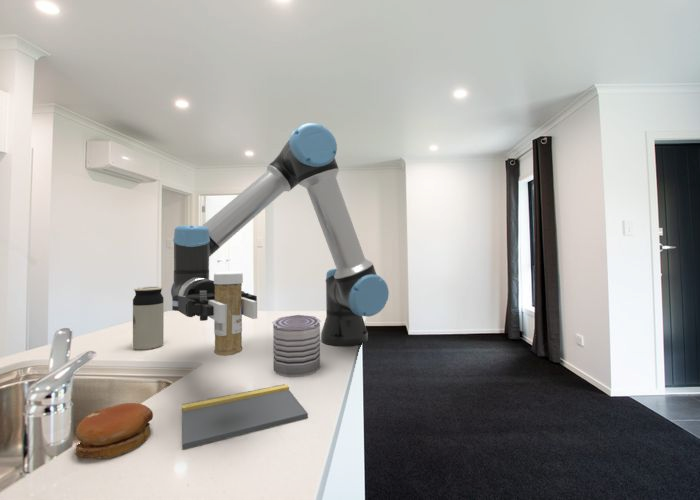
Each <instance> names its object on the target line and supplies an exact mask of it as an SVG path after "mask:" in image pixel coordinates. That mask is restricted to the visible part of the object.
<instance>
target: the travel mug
mask: <svg viewBox="0 0 700 500" xmlns="http://www.w3.org/2000/svg"><path fill="white" fill-rule="evenodd" d="M162 290H163V286H142V287H134V289H133V291H134V293H135V295H134V297H133V299H132V349H134V350H136V351H146V349H148V350H153V349H152V348H154V349H157V347H158V348H160V347H161V346H163V345H164V340H165V339H164V330H165V329H164V324H165V323H164V322H165V321H164V320H165V319H164V315H165V313H164V296H163V294H162Z"/></svg>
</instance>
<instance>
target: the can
mask: <svg viewBox="0 0 700 500" xmlns="http://www.w3.org/2000/svg"><path fill="white" fill-rule="evenodd" d="M321 322H322V320H321V319H319V318H317V317H316V316H314V315H304V314H303V315H302V314H296V315H288V316H282V317H279V318H277V319H275V320H274V321H272V322H271V323H272V325H273V326H272V328H273V329H272V330H273V337H272V338H273V344H272V345H273V371H274V372H275V374H276V375H278V376H282V377H285V378H296V377H297V378H299V377H307V376H309V375H313V374H316V373H317V372H318V371H319V369H320V368H321V341H320V340H321V332H320V331H321Z"/></svg>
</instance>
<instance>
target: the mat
mask: <svg viewBox="0 0 700 500" xmlns="http://www.w3.org/2000/svg"><path fill="white" fill-rule="evenodd" d="M308 415H309V412H308V411H306V410H305V408H304V407H303V405H302V404H301V403H300V402H299V400H298V399H297V398H296V397H295V396H294V394H293V393H292V392H291V391H290V386H289V385H288V384H287V383H286V384H285V383H283V384H279V385H273V386H268V387H262V388H258V389H253V390H247V391H244V392H238V393H232V394H228V395H223V396H218V397H213V398H208V399H203V400H197V401H192V402H187V403H182V404H181V428H182V429H181V431H182V432H181V433H182V434H181V436H182V438H181V439H182V441H181V443H182V444H181V445H182V450H186V449H187V450H188V449H191V448H193V447H194V448H195V447H199V446H202V445H206V444H207V445H208V444H211V443H215V442H218V441H223V440H226V439H230V438H233V437H239V436H241V435H246V434H250V433H253V432H258V431H261V430H267V429H270V428H272V427H276V426H282V425H284V424H285V425H286V424H289V423H294V422H297V421H301V420H305V419H309V418H308V417H309V416H308Z"/></svg>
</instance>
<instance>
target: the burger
mask: <svg viewBox="0 0 700 500" xmlns="http://www.w3.org/2000/svg"><path fill="white" fill-rule="evenodd" d="M153 418H154V413H153V411H152V409H151V408H150V407H148V406H146V405H144V404H142V403H138V402H125V403H120V404H116V405H112V406H109V407H107V408H102V409H98V410H94V411H92V412H91V413H90V414H89V415H86V416H85V417H84V418H83V419H82V420H81V421H80V422H79V424H78V425H77V426H76V429H75V435H76V439H77V440H78V441H79V443H80V444H79V443H78V445H77V444H76V448H75V455H76V456H77V457H78V458H80V459H81V458H84V459H85V458H86V459H87V458H91V459H97V460H98V459H105V458H109V459H110V458H114V457H118V456H120V455H123V454H125V453H128V452H130V451H133V450H135V449H136V448H138V447H139V446H141V445H143V443H145V441H147V440H148V438H150V435H151V426H150V425H151V423H149V422H150V421H152V420H153Z"/></svg>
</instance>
